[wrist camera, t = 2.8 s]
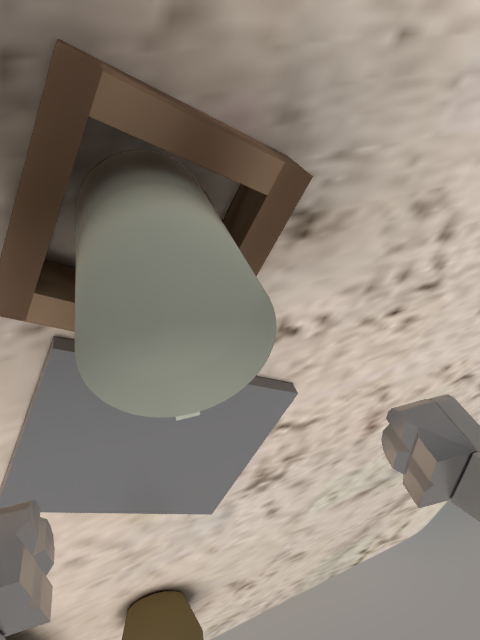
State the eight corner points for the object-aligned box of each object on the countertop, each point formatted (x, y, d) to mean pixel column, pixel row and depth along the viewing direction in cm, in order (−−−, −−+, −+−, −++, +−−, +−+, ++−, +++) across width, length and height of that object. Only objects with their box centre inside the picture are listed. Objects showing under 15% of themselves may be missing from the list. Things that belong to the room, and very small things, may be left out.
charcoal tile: (-3, 497, 29) (-6, 511, 28) (53, 336, 23) (53, 348, 22) (208, 503, 37) (211, 514, 36) (292, 383, 31) (297, 393, 30)
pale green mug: (59, 158, 18) (45, 280, 11) (200, 142, 20) (277, 241, 12) (104, 319, 24) (117, 479, 16) (213, 298, 25) (273, 437, 17)
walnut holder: (-4, 276, 20) (-14, 313, 18) (58, 38, 16) (54, 47, 14) (197, 326, 25) (209, 359, 23) (287, 155, 21) (312, 176, 19)
